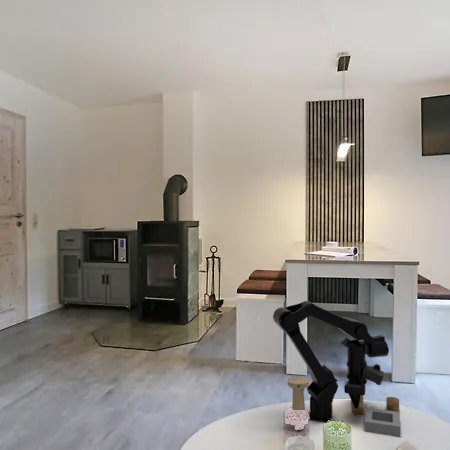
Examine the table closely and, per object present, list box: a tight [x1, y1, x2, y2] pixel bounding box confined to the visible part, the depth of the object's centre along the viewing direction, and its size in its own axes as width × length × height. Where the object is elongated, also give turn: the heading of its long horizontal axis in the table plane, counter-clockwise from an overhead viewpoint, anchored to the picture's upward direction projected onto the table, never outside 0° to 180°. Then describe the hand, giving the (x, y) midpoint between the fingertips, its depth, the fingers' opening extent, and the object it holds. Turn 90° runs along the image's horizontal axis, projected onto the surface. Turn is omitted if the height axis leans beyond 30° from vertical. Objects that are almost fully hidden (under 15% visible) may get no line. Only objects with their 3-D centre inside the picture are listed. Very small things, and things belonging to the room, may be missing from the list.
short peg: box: [385, 396, 400, 412], centre depth 142 cm, size 4×4×4 cm
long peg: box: [350, 395, 365, 416], centre depth 141 cm, size 4×4×8 cm
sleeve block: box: [364, 407, 401, 438], centre depth 131 cm, size 10×10×3 cm
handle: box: [287, 377, 310, 411], centre depth 131 cm, size 5×6×15 cm
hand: (357, 405), depth 141 cm, fingers closed on long peg, 4 cm apart
